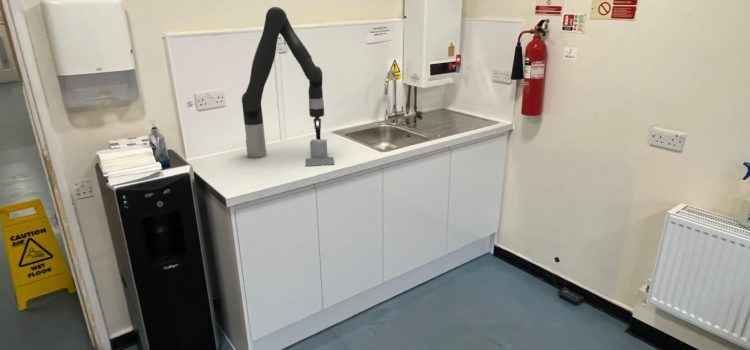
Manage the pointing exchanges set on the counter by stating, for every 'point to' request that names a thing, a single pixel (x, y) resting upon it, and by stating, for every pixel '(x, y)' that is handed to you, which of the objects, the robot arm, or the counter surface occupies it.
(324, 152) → the medicine box
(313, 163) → the mat
